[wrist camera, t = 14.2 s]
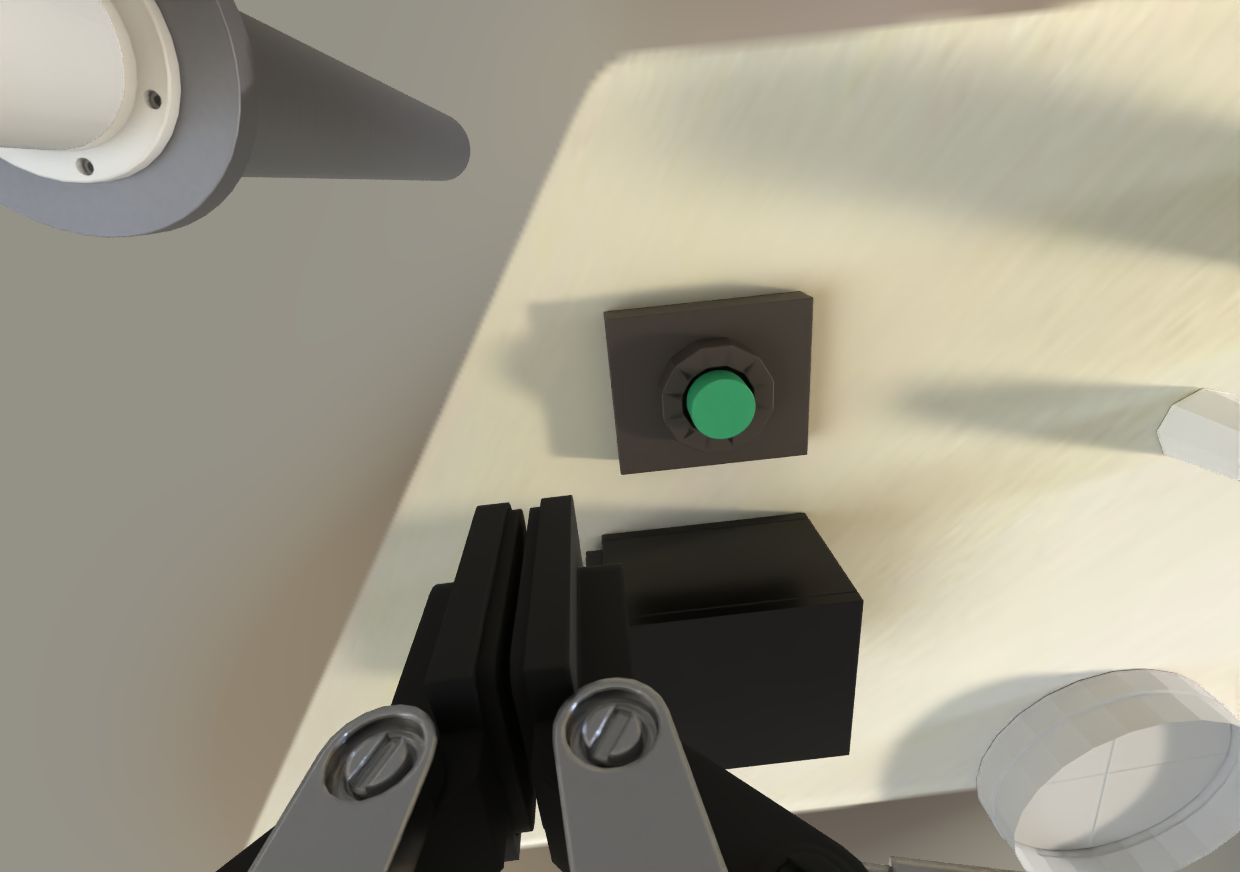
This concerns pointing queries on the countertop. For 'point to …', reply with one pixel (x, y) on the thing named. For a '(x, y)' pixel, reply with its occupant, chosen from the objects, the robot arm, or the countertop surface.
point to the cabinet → (744, 636)
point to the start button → (720, 404)
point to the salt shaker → (1204, 432)
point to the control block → (696, 344)
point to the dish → (1116, 776)
